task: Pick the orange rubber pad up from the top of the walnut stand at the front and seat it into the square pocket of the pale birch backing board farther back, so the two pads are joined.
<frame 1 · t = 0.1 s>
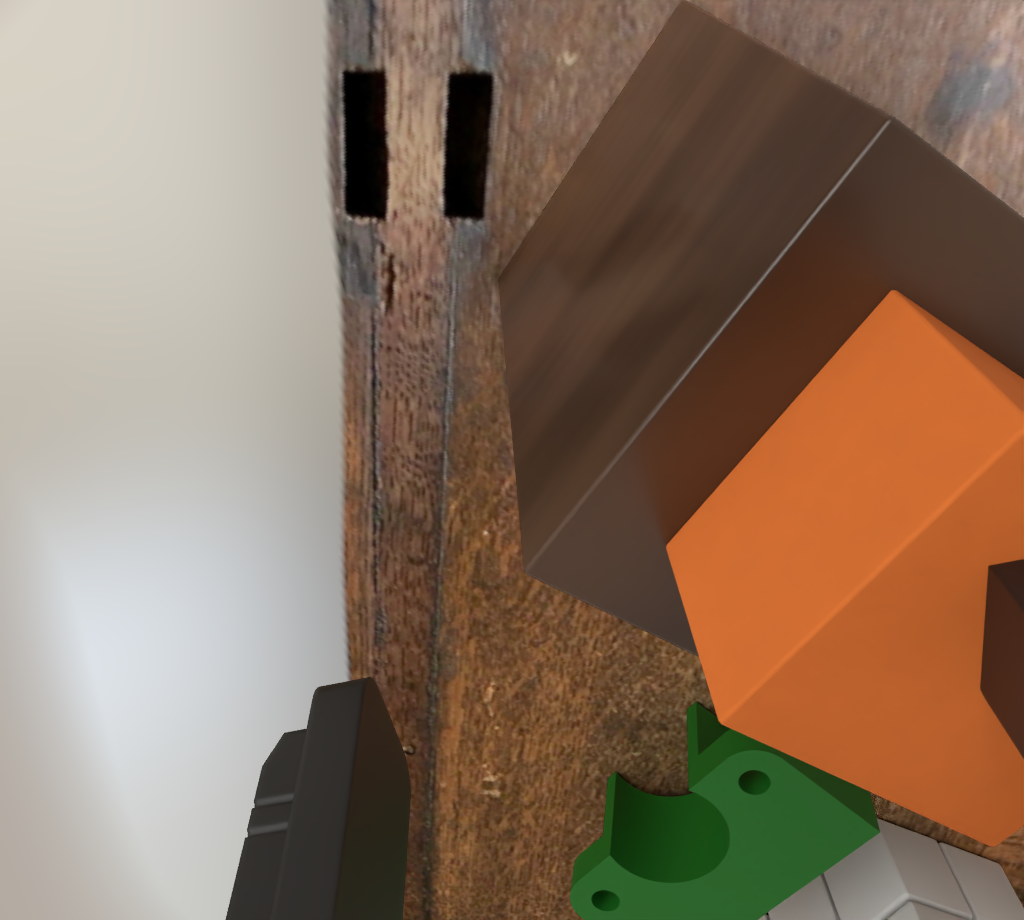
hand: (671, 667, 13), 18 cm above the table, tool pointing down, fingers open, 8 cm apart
pad: (892, 500, 16), point 14 cm above the table, touching gripper, stand
stand: (707, 232, 28), on the table
puzzle cube: (883, 916, 47), on the table
clamp: (693, 759, 40), on the table
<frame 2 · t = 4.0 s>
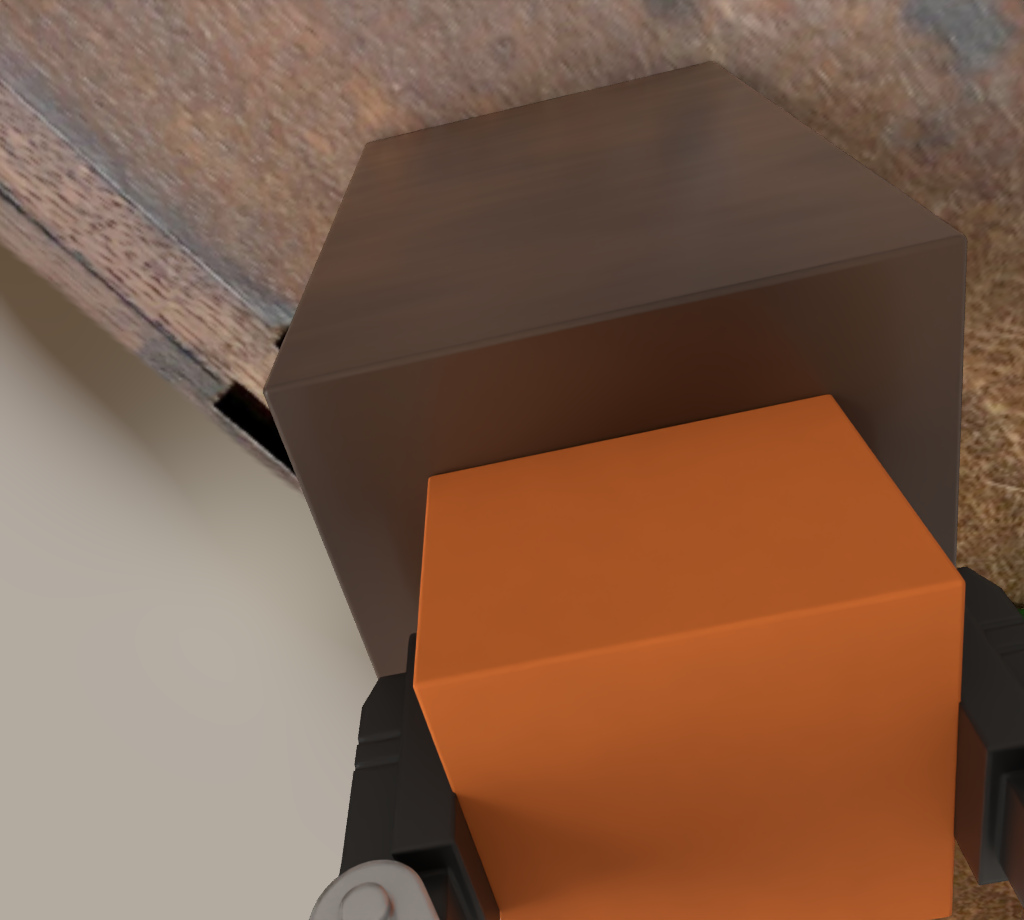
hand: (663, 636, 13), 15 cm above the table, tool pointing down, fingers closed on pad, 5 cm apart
pad: (653, 590, 14), point 14 cm above the table, touching gripper, stand
stand: (569, 269, 26), on the table
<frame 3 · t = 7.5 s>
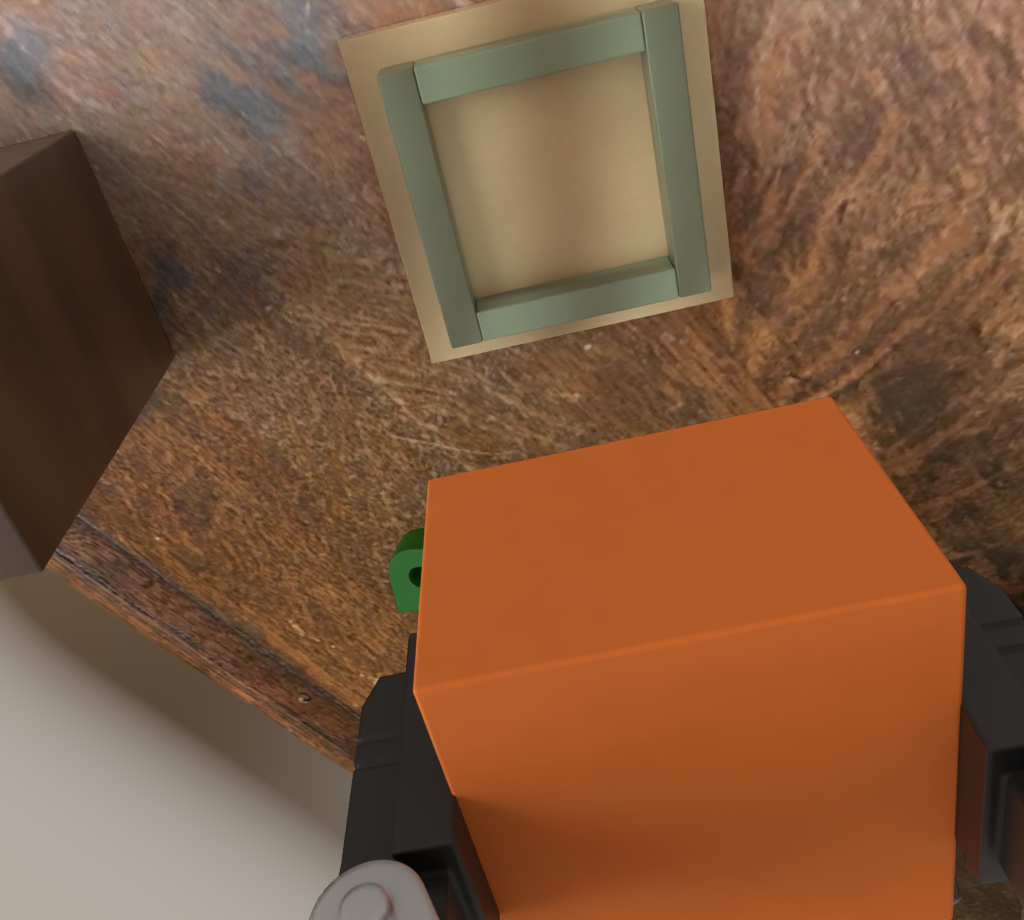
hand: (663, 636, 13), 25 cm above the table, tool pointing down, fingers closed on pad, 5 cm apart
pad: (654, 593, 14), point 24 cm above the table, touching gripper
backing board: (549, 171, 35), on the table
stand: (16, 276, 36), on the table
clamp: (489, 572, 44), on the table
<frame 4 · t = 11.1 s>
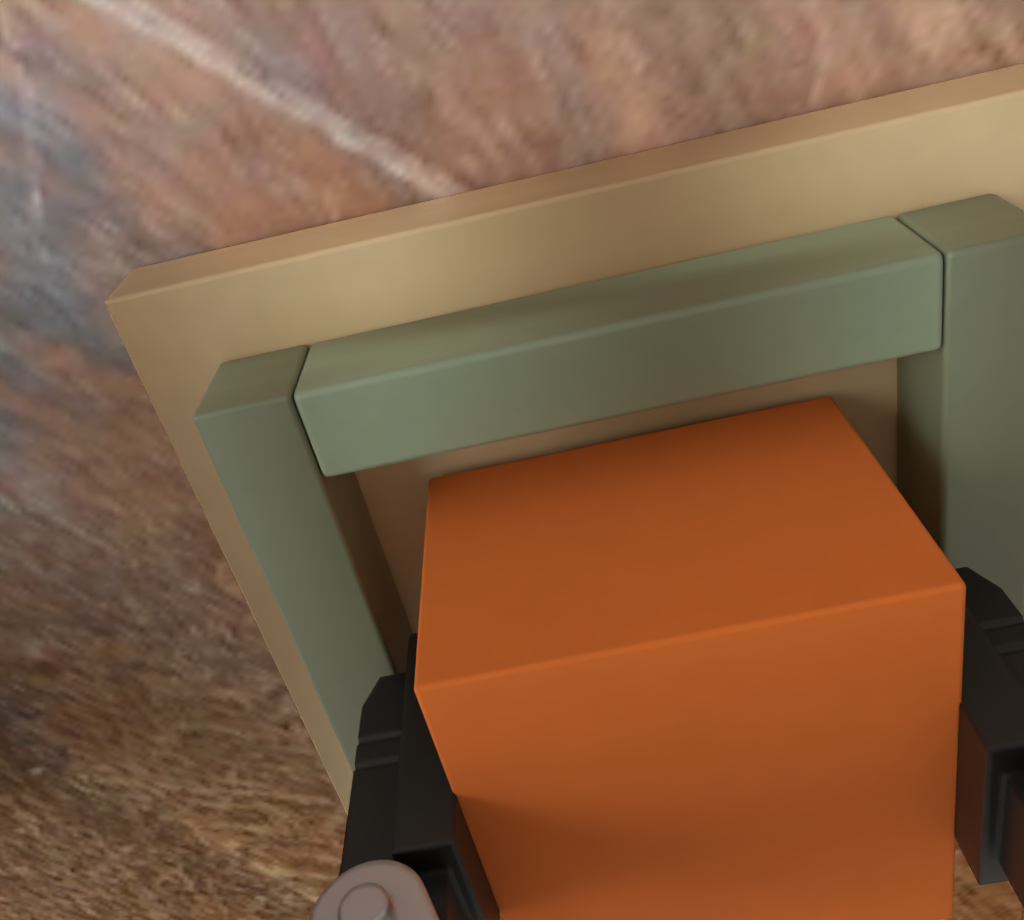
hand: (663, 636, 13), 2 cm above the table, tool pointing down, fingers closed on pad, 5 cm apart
pad: (654, 592, 14), point 1 cm above the table, touching gripper
backing board: (636, 534, 15), on the table
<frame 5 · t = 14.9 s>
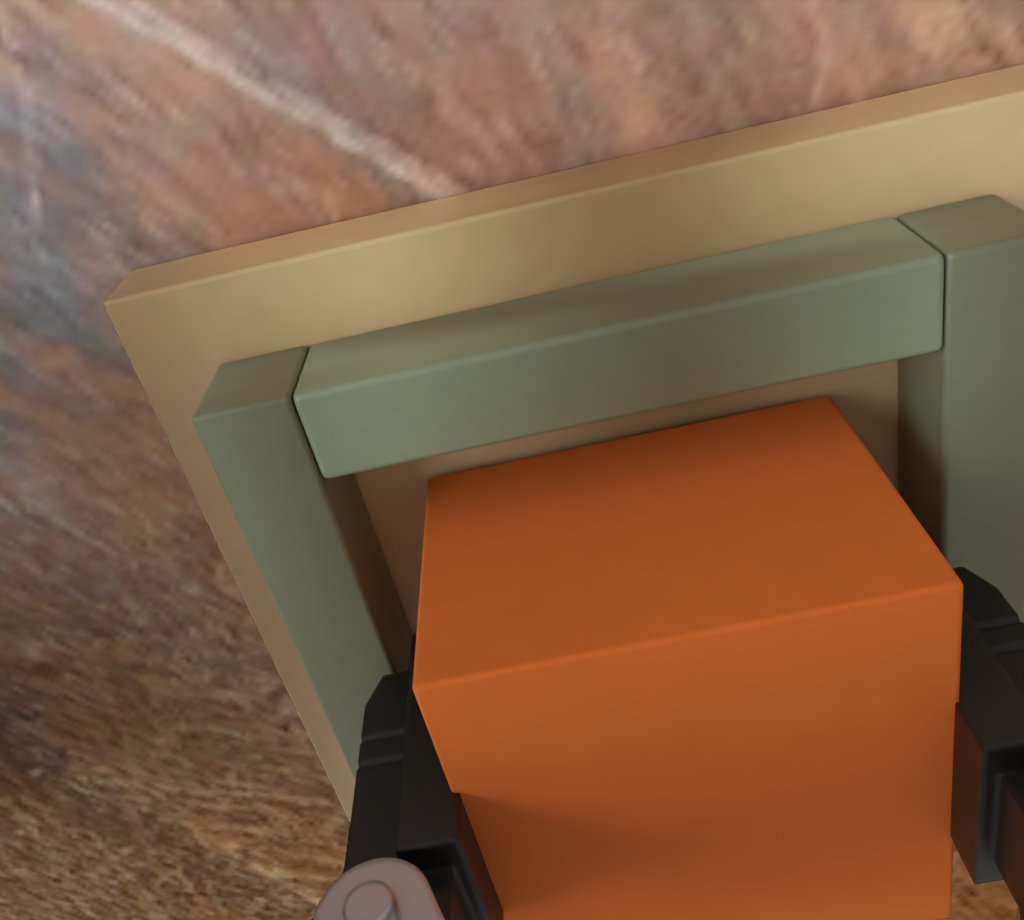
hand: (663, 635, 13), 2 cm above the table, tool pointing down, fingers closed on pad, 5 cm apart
pad: (652, 591, 14), point 1 cm above the table, touching gripper
backing board: (636, 535, 15), on the table
when the fingers open (3 cm above the table, at t = 18.2 s): pad stays where it is, resting on backing board.
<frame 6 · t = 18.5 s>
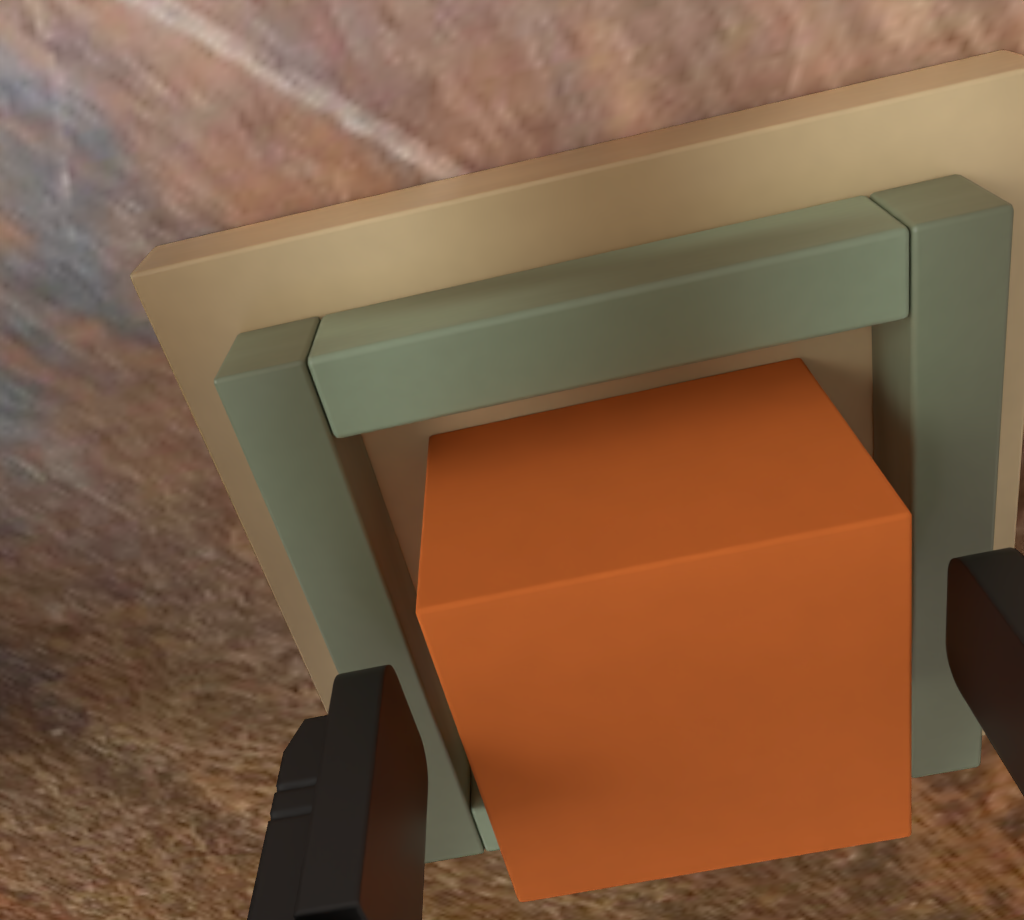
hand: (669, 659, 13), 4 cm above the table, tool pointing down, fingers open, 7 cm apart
pad: (639, 544, 15), point 1 cm above the table, touching backing board
backing board: (629, 502, 16), on the table
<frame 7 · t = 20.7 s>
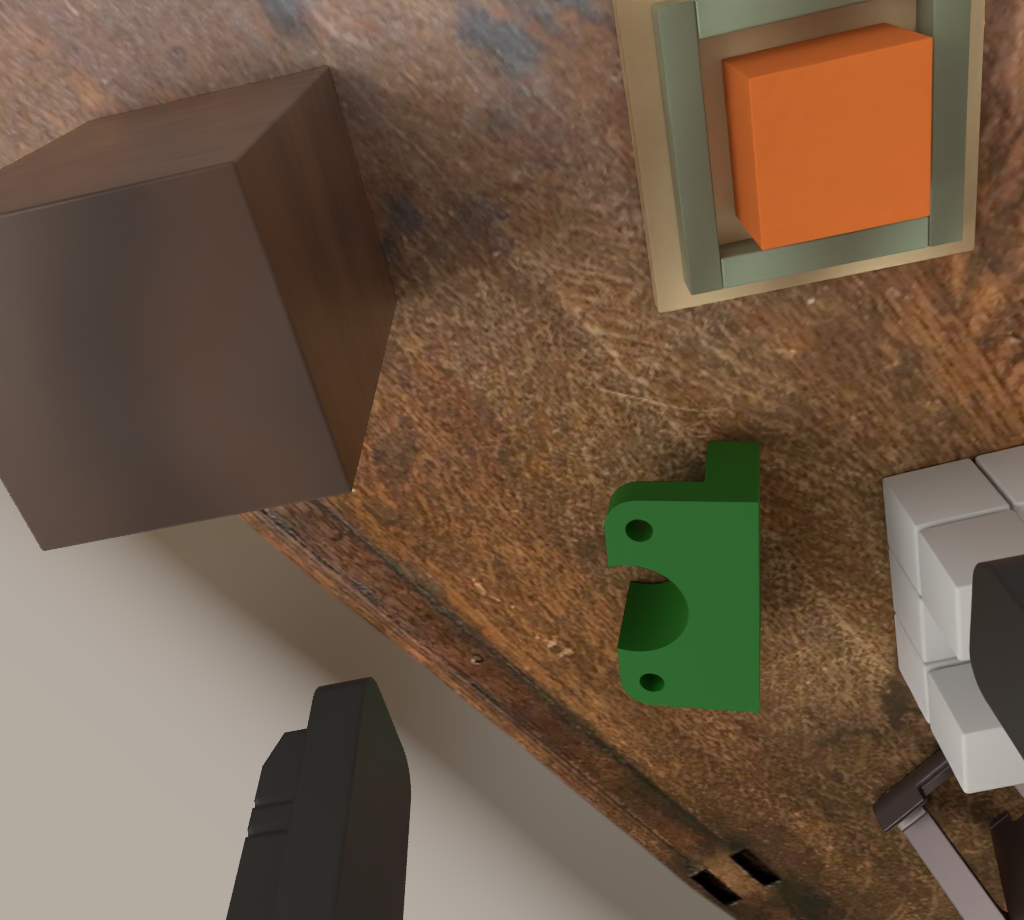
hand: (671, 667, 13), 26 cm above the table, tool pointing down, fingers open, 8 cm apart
pad: (806, 123, 33), point 1 cm above the table, touching backing board
tablet stand: (973, 773, 52), on the table
backing board: (797, 116, 34), on the table
stand: (250, 216, 36), on the table
puzzle cube: (1017, 548, 44), on the table
clamp: (679, 534, 44), on the table
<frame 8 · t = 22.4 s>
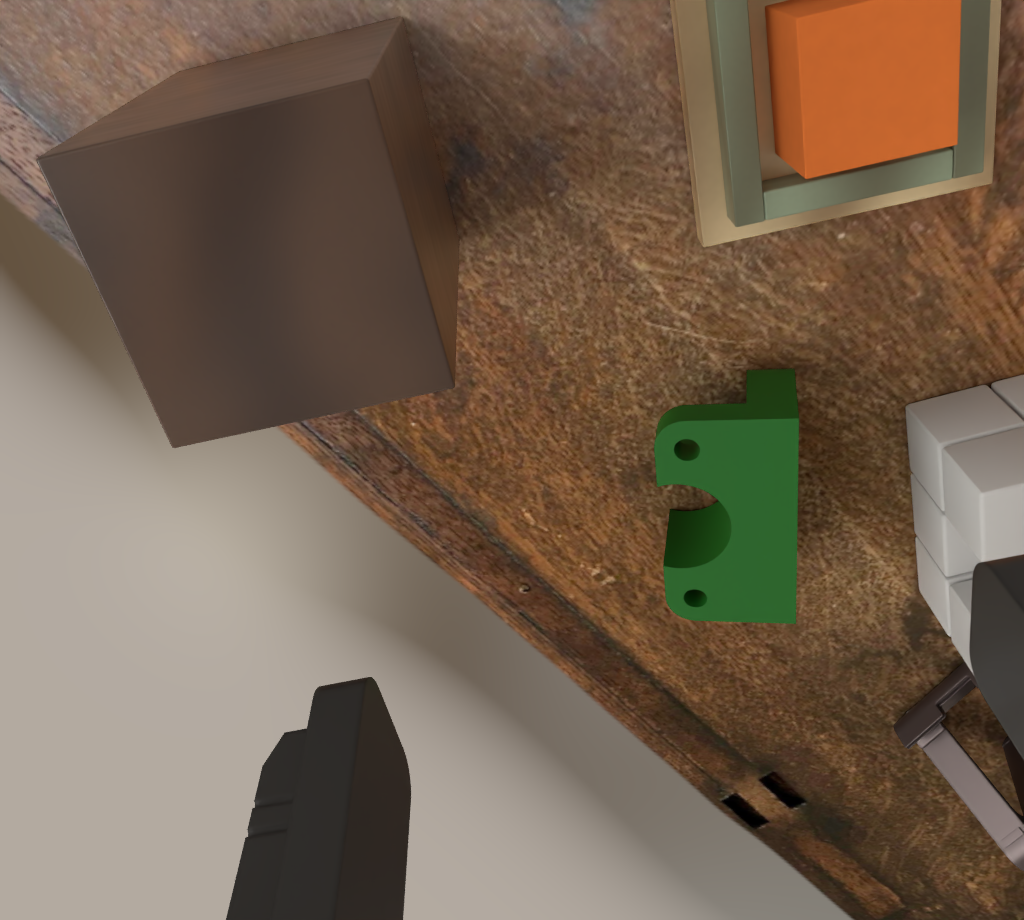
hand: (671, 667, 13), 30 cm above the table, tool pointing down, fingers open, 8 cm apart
pad: (841, 65, 36), point 1 cm above the table, touching backing board
tablet stand: (987, 692, 56), on the table
backing board: (831, 60, 37), on the table
stand: (325, 160, 38), on the table
clamp: (716, 463, 47), on the table
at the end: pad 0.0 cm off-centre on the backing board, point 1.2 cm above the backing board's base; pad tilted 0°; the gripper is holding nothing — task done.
